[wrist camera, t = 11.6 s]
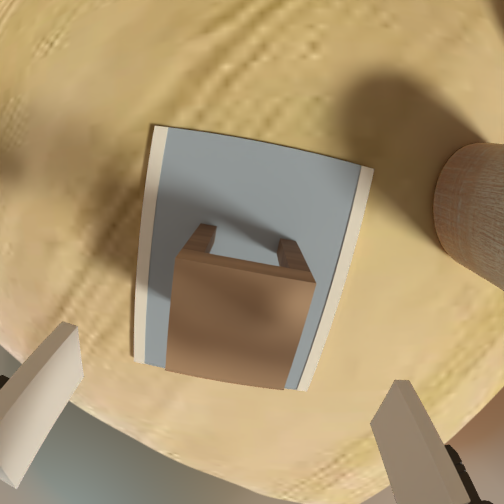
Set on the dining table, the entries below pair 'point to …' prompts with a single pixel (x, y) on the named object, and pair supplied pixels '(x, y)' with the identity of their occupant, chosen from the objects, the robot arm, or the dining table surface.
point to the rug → (246, 225)
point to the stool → (237, 313)
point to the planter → (473, 209)
